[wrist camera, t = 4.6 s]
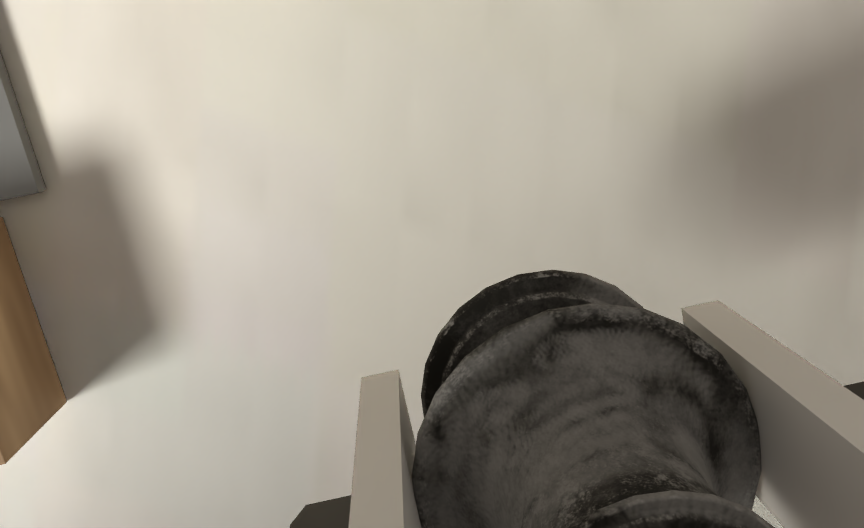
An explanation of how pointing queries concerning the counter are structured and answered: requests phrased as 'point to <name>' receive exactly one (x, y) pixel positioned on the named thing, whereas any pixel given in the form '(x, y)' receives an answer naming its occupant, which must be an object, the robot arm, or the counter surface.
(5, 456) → the light wooden rectangular block
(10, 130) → the grey rubber mat
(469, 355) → the dark grey tall piece
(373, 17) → the counter surface
